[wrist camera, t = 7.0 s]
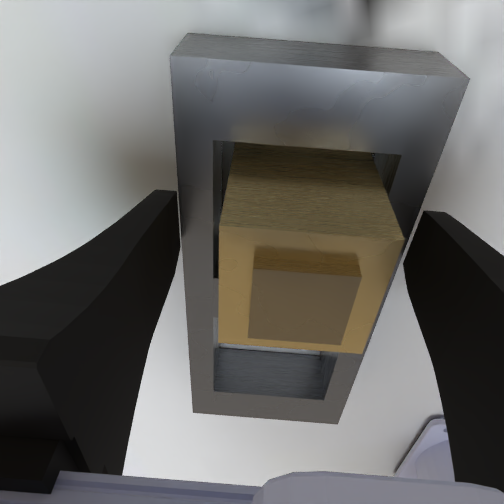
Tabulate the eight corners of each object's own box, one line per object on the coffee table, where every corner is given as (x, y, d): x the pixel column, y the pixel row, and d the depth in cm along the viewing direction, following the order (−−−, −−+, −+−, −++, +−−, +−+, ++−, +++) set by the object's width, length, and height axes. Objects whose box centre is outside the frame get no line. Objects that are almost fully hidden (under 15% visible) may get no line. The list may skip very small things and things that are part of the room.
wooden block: (363, 134, 13) (409, 252, 8) (339, 234, 16) (364, 366, 11) (238, 125, 13) (216, 237, 8) (234, 226, 16) (216, 354, 11)
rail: (438, 52, 11) (469, 78, 9) (332, 380, 21) (337, 424, 20) (187, 33, 11) (169, 55, 9) (200, 370, 21) (192, 412, 20)
